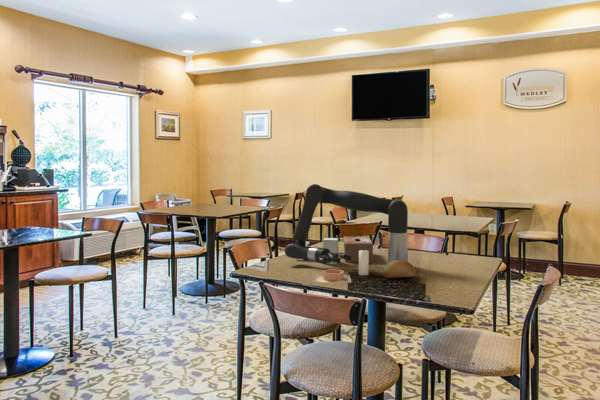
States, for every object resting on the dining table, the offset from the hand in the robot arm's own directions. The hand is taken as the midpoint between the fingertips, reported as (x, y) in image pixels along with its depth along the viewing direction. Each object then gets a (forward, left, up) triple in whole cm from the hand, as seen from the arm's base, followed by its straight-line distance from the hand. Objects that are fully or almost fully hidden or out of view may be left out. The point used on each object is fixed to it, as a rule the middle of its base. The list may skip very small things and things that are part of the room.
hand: (345, 259), depth 224 cm
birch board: (+6, +15, -7) cm, 18 cm away
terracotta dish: (+6, +15, -6) cm, 17 cm away
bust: (+20, -35, -7) cm, 41 cm away
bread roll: (-24, +6, -7) cm, 26 cm away
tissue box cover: (-9, -41, -8) cm, 43 cm away
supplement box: (+6, -26, -7) cm, 28 cm away
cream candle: (-8, +7, -7) cm, 12 cm away
